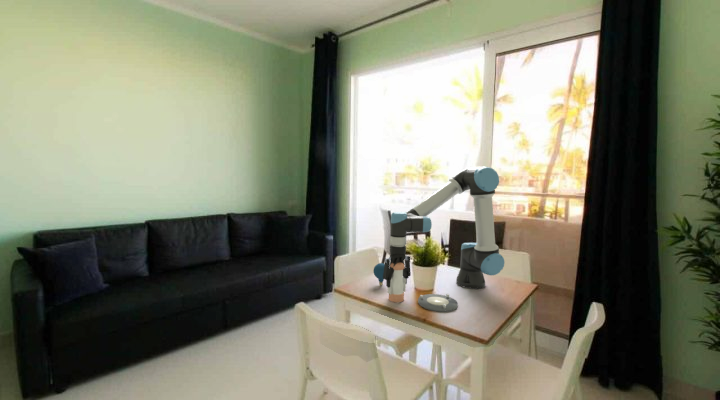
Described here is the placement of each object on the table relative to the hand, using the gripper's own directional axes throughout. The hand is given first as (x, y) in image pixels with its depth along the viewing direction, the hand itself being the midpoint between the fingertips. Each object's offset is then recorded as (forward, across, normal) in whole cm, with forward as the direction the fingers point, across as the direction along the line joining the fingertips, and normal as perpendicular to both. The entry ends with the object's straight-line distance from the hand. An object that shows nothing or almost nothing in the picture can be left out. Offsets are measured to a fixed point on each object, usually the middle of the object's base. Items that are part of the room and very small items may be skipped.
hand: (396, 292), depth 157 cm
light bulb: (+4, -4, -20) cm, 21 cm away
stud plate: (+4, -14, +13) cm, 20 cm away
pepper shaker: (+4, 0, 0) cm, 4 cm away
